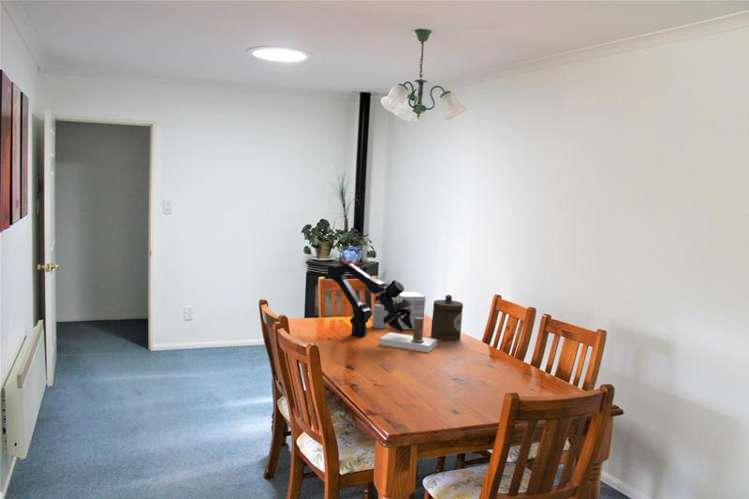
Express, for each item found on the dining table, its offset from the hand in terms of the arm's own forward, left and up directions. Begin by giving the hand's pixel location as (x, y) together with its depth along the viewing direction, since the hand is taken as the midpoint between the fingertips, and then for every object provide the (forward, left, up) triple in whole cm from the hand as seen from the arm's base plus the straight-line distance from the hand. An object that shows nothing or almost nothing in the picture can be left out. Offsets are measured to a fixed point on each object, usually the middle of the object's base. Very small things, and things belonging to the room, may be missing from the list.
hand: (407, 330), depth 304 cm
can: (-23, +27, -8) cm, 36 cm away
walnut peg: (+6, -1, -7) cm, 9 cm away
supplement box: (-11, +39, -8) cm, 41 cm away
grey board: (+1, +1, -7) cm, 7 cm away
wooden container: (+13, +25, -8) cm, 29 cm away
